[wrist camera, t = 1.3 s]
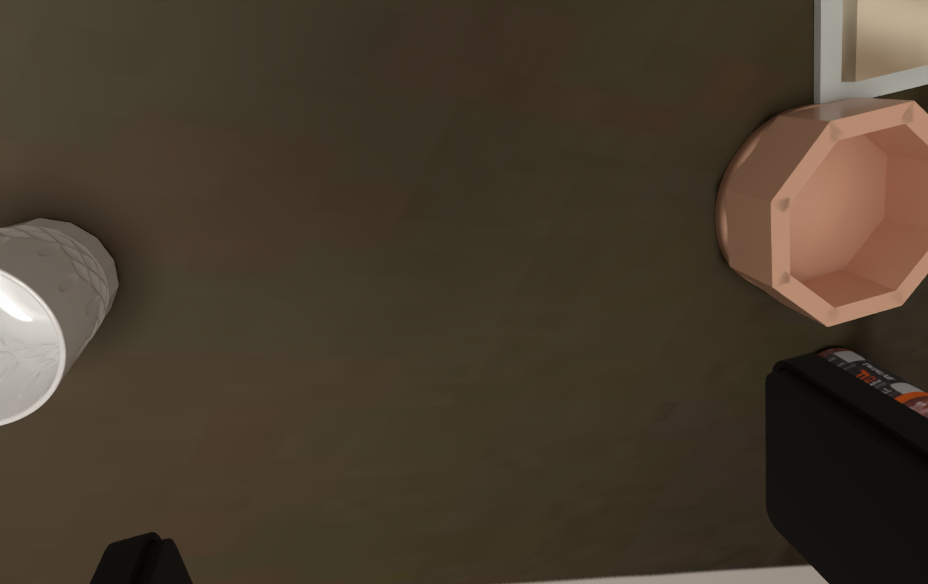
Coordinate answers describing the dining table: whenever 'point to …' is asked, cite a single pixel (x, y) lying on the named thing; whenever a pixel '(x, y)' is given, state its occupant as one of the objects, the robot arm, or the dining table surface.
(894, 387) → the supplement bottle
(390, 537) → the dining table surface
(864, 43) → the lid
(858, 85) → the mat
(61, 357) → the white cup
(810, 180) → the bowl
